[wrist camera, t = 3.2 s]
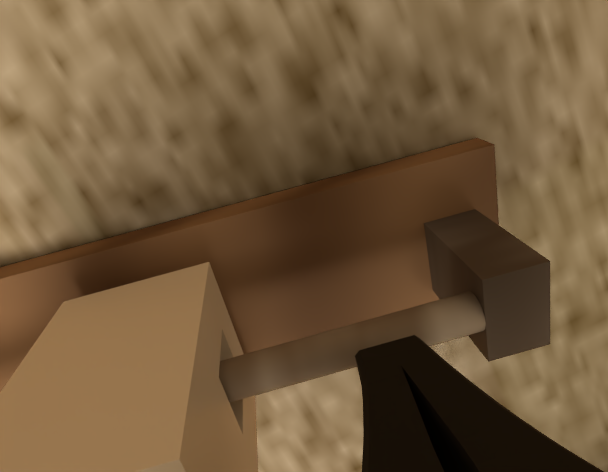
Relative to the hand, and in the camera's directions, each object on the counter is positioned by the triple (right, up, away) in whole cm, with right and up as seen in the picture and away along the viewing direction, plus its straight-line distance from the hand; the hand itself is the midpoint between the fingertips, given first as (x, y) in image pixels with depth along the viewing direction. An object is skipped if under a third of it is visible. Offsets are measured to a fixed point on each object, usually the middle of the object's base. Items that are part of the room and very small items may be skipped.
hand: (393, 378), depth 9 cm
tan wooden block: (-6, 0, +3) cm, 7 cm away
